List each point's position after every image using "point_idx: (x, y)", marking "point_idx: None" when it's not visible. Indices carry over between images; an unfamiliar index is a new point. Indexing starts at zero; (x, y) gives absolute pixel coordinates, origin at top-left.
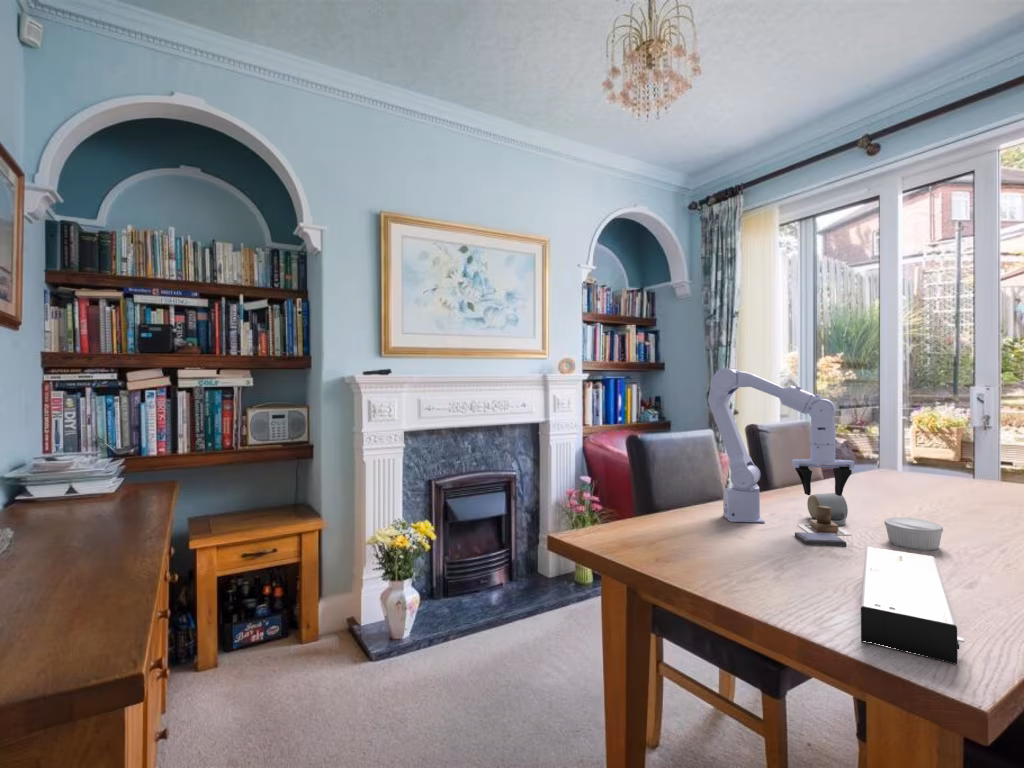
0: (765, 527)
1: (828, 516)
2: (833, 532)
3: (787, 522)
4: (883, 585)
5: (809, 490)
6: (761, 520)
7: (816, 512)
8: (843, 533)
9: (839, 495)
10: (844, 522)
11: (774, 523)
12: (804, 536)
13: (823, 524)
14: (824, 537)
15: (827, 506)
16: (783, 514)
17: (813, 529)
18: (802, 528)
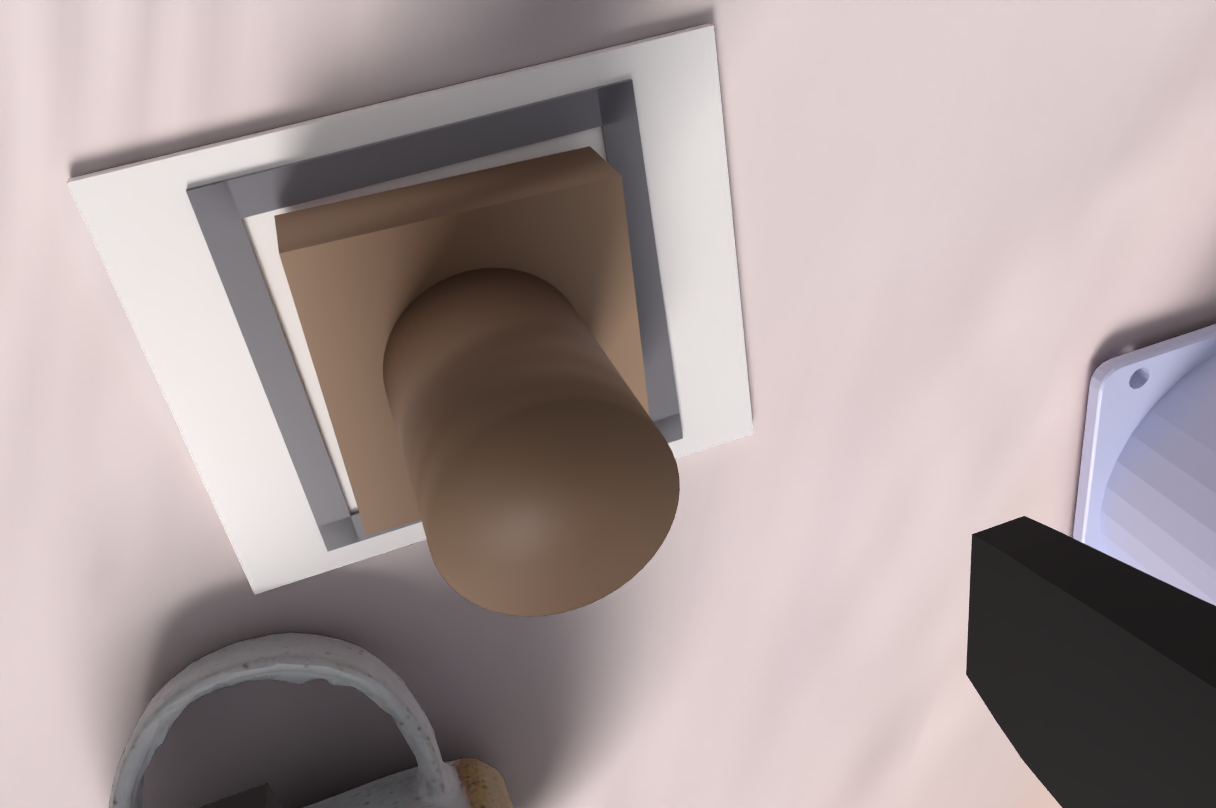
0: (1151, 174)
1: (457, 348)
2: (350, 183)
3: (822, 514)
4: None
5: (1096, 578)
6: (1128, 391)
7: (503, 792)
8: (195, 189)
9: (252, 798)
10: (137, 725)
11: (981, 407)
12: None
13: (517, 235)
14: None
15: None
16: (767, 803)
17: None
18: (737, 274)
